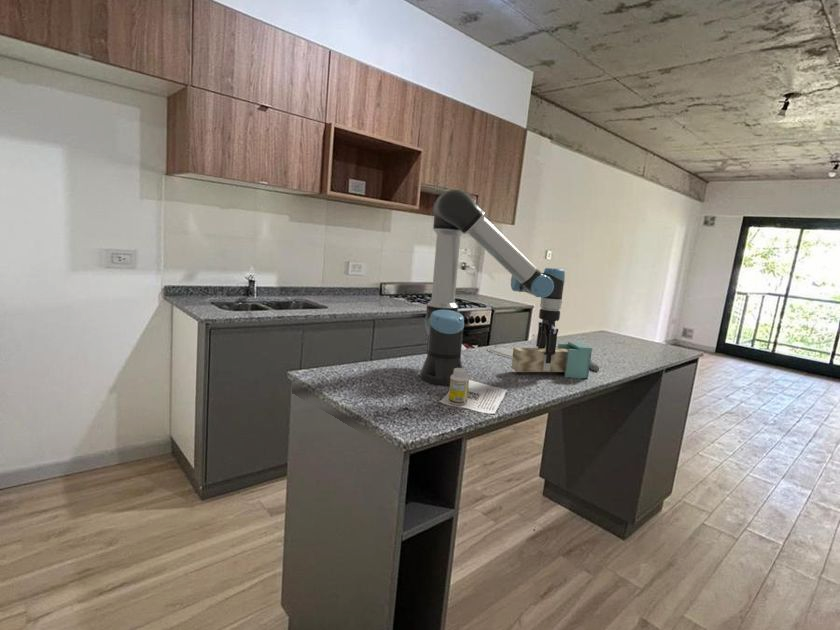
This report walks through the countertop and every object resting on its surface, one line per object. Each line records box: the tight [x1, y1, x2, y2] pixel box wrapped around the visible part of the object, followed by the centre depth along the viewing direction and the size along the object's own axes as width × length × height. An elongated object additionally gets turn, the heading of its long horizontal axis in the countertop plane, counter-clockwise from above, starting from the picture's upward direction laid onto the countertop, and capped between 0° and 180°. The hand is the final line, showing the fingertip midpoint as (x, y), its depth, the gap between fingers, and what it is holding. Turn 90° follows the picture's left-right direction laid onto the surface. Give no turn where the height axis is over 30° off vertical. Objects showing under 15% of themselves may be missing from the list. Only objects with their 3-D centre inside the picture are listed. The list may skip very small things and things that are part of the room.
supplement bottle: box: [448, 368, 470, 406], centre depth 135 cm, size 6×6×10 cm
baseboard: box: [486, 345, 513, 360], centre depth 195 cm, size 31×3×12 cm
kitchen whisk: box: [589, 360, 600, 372], centre depth 198 cm, size 6×34×6 cm, turn 4°
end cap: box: [557, 341, 593, 379], centre depth 175 cm, size 9×10×12 cm
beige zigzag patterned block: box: [511, 347, 568, 373], centre depth 174 cm, size 24×5×8 cm, turn 103°
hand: (543, 368), depth 175 cm, fingers closed on beige zigzag patterned block, 5 cm apart
